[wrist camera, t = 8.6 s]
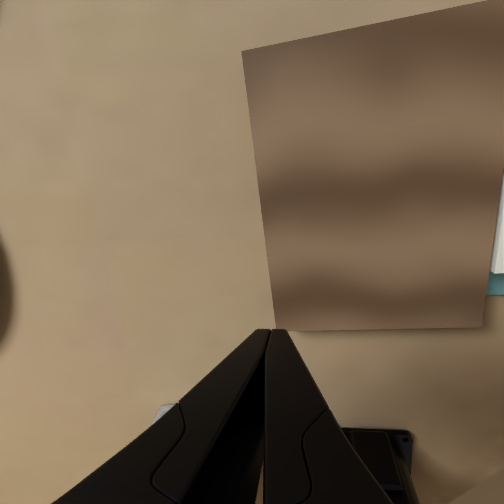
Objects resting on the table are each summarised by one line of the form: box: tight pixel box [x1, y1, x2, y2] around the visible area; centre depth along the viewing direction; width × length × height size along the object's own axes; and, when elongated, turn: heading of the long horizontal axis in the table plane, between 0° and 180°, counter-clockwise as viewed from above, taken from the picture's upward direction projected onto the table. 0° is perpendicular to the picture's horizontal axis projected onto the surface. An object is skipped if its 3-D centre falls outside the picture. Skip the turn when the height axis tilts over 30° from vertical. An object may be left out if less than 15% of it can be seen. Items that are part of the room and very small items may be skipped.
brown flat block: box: [242, 0, 504, 331], centre depth 17 cm, size 16×12×2 cm
